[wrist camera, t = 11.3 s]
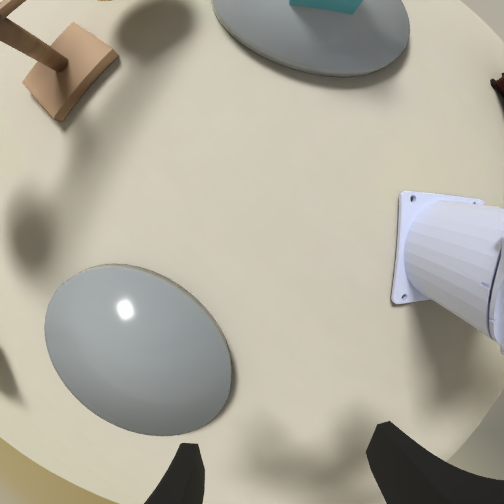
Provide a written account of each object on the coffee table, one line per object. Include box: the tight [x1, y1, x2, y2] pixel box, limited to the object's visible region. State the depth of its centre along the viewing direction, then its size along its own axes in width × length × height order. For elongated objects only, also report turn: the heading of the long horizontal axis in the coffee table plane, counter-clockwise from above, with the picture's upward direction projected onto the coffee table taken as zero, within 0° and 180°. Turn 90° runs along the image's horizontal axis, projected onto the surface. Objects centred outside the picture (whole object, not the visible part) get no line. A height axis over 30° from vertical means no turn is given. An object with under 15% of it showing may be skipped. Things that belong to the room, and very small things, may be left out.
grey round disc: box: [45, 264, 231, 436], centre depth 18 cm, size 15×15×1 cm
